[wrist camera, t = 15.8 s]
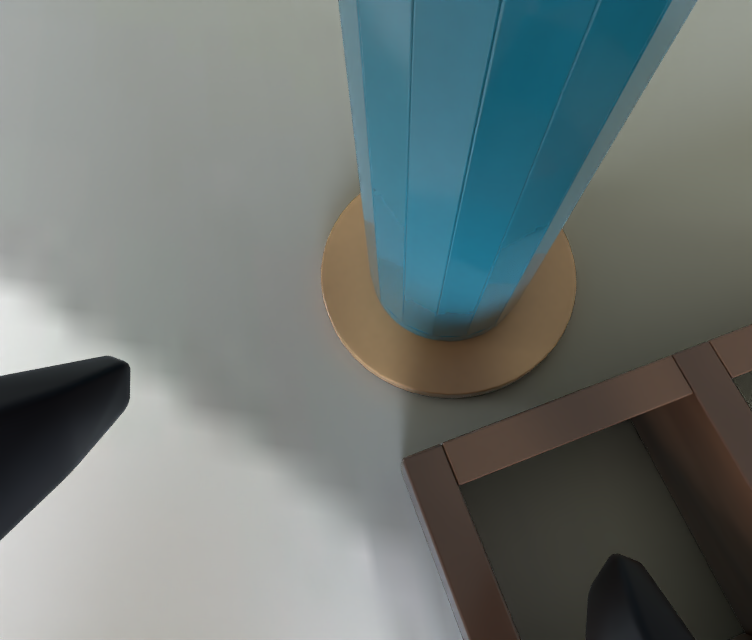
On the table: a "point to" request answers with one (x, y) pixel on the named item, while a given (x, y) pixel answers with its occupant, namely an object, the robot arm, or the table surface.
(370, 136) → the tumbler
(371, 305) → the coaster
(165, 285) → the table surface
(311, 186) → the table surface
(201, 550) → the table surface
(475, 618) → the glass rack
